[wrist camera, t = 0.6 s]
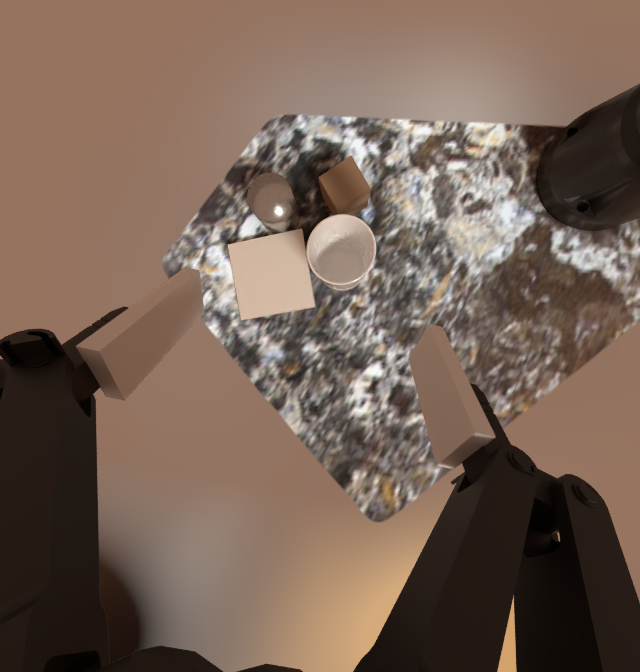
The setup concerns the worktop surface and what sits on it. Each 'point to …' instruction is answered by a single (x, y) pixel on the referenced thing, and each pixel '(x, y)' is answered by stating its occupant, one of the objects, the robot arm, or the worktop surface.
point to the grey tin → (273, 203)
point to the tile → (272, 275)
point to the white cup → (341, 251)
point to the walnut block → (344, 188)
